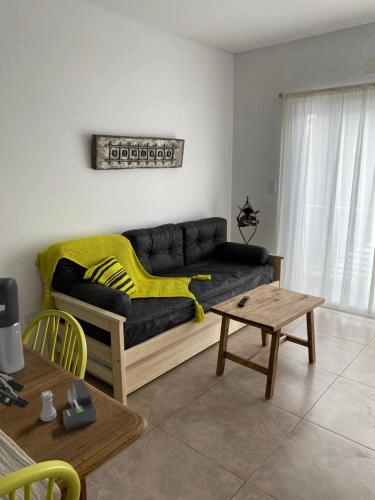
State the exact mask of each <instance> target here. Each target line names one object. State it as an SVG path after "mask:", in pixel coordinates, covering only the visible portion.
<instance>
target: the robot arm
mask: <svg viewBox="0 0 375 500" xmlns="http://www.w3.org/2000/svg"><path fill="white" fill-rule="evenodd" d="M18 288H19V287H18V283H17V281H16V279H15V278H14V277H0V306H4V309H2V310H0V404H1V405H4V406H5V407H7V408H11V407H12V406H13V405H14V406H16V407H19V408H21V409H23V410H24V409H26V408H27V406H28V405H29V400H28V399H27V398H24V397H22V396H20V395H17V393H21V392H22V390H23V389H24V388H25V386H24V384H22V383H21V382H19V381H17V380H15V379H14V378H13V377H12V376H11V374H14V373H16V372H19V371H21V370H22V369H23V368H24V367H25V357H24V349H23V339H22V332H21V331H22V330H21V324H20V306H19V305H20V304H19V289H18ZM14 391H15V392H14Z"/></svg>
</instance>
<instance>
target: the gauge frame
mask: <svg viewBox="0 0 375 500" xmlns="http://www.w3.org/2000/svg"><path fill="white" fill-rule="evenodd" d="M71 385H72V393H73V395H74V397H75V399H76V401H77V404H78V406H79V408H80V410H77V408H76V407H74V408H72V407H71V408H68V409H65V410H62V420H63V426H64V428H65V430H66V431H69V430H73V429H76V428H79V427H82V426H85V425H88V424H90V423H94V422H96V421H97V413H96V406H95V405H94V404H93V402H92V400H93V399H92V394H91V393H90V391H89V389H88V387H87V386H86V384H85V382H84V380H83V379H82V378H81V379H78V380H73V381H71Z"/></svg>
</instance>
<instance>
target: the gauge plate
mask: <svg viewBox="0 0 375 500" xmlns="http://www.w3.org/2000/svg"><path fill="white" fill-rule="evenodd" d="M67 401H68V402H69V404H70V407H71V408H74V407H76V408H77V410H80V408H79V406H78V404H77V401H76V399H75V397H74V395H73V390H72V389H71V388H69V389H67Z"/></svg>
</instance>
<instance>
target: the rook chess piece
mask: <svg viewBox="0 0 375 500" xmlns="http://www.w3.org/2000/svg"><path fill="white" fill-rule="evenodd" d="M53 396H54V394H53V393H52V391H51V390H45V391H42V392H41V395H40V399H42V400H41V403H42V410H41V412H40V414H39V415H40V420H42V421H43V422H44V423H45V422H46V423H48V422H52V421H54V420H55V418H56V417H57V415H58V414H57V410H56V408H55V407H54V405H53Z"/></svg>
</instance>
